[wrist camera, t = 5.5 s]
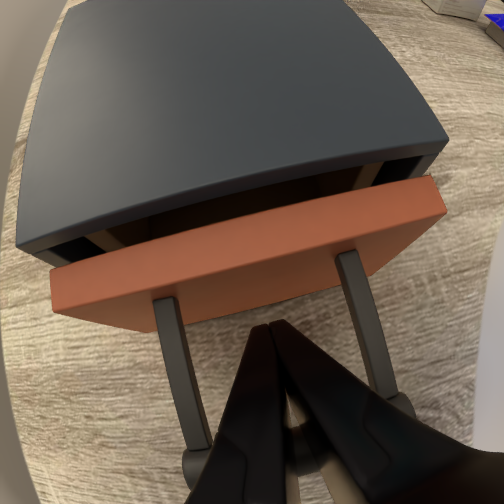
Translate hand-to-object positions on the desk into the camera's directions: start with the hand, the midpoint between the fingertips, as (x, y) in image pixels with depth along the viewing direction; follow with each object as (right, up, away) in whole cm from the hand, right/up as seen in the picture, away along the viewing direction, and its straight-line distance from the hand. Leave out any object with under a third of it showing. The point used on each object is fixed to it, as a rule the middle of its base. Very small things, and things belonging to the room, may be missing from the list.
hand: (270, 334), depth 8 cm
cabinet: (-2, +7, +9) cm, 12 cm away
